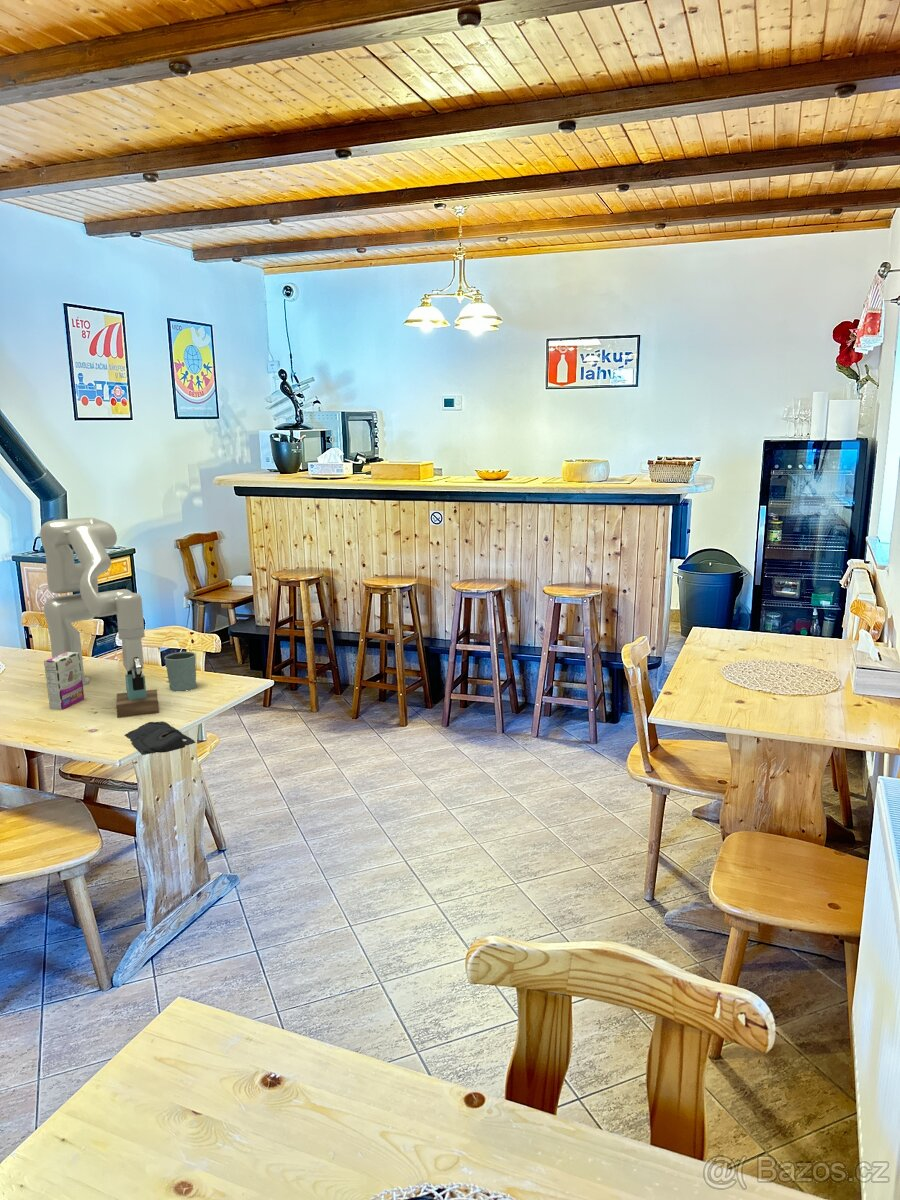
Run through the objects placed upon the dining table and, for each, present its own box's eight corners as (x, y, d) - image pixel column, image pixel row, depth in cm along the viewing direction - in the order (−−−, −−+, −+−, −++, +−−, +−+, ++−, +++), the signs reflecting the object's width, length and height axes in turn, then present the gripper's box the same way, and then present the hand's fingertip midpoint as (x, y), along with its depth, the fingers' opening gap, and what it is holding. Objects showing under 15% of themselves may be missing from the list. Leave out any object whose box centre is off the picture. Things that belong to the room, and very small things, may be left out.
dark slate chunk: (172, 726, 240) (171, 711, 239) (199, 748, 222) (198, 732, 222) (119, 738, 230) (118, 722, 229) (143, 762, 213) (142, 745, 212)
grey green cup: (201, 690, 272) (198, 656, 270) (170, 695, 267) (167, 660, 265) (193, 682, 281) (191, 650, 279) (164, 687, 276) (161, 654, 274)
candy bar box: (71, 699, 264) (66, 651, 261) (85, 699, 263) (80, 652, 260) (48, 710, 253) (43, 660, 250) (62, 711, 252) (57, 661, 249)
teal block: (127, 696, 252) (125, 675, 251) (143, 693, 255) (141, 672, 253) (129, 700, 248) (127, 678, 247) (146, 697, 250) (144, 676, 249)
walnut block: (118, 708, 256) (117, 693, 255) (157, 703, 260) (156, 689, 259) (117, 720, 245) (116, 705, 244) (158, 715, 249) (157, 700, 248)
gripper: (114, 628, 253) (119, 680, 256) (122, 640, 238) (127, 695, 241) (139, 625, 256) (143, 677, 260) (149, 637, 242) (153, 691, 245)
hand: (136, 685), depth 251 cm, fingers open, 9 cm apart
